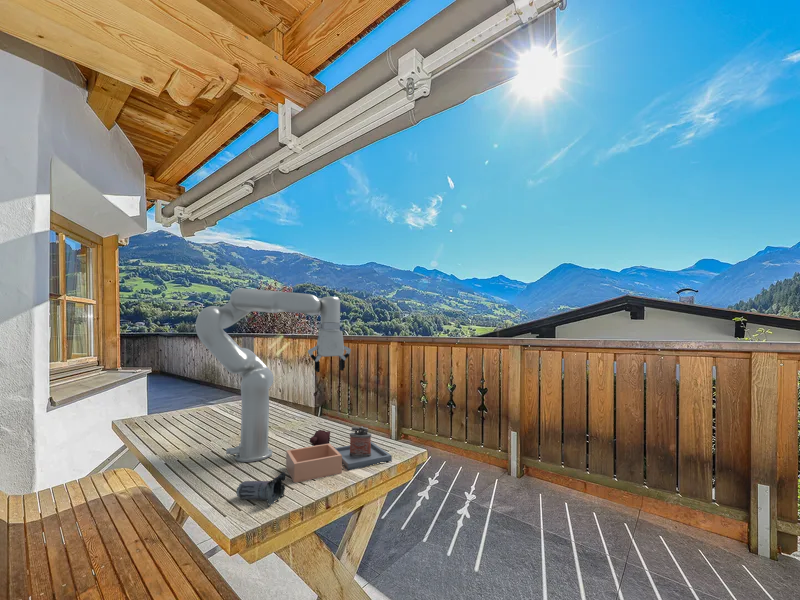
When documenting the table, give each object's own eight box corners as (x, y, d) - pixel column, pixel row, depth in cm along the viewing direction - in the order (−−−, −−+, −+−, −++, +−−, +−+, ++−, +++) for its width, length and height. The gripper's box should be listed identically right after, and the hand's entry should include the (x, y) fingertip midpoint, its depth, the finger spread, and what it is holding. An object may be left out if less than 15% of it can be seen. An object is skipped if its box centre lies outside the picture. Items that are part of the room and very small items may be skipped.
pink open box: (294, 482, 103) (294, 463, 103) (286, 467, 115) (286, 450, 116) (341, 472, 110) (341, 455, 110) (329, 459, 122) (329, 443, 123)
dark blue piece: (285, 501, 95) (246, 500, 97) (287, 470, 97) (249, 470, 99) (268, 510, 86) (225, 509, 88) (270, 477, 88) (229, 476, 90)
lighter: (372, 454, 124) (372, 426, 125) (369, 457, 121) (369, 428, 122) (351, 453, 126) (351, 425, 127) (348, 456, 123) (348, 427, 124)
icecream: (320, 425, 144) (301, 439, 130) (335, 421, 142) (317, 435, 128) (324, 441, 144) (305, 457, 129) (339, 438, 142) (322, 453, 127)
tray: (348, 470, 112) (348, 464, 112) (332, 453, 128) (332, 448, 128) (391, 461, 119) (391, 455, 120) (371, 446, 135) (371, 441, 135)
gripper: (310, 327, 129) (310, 373, 127) (354, 327, 137) (353, 370, 135) (306, 327, 135) (305, 371, 133) (347, 327, 143) (347, 369, 142)
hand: (329, 371), depth 134 cm, fingers open, 9 cm apart
